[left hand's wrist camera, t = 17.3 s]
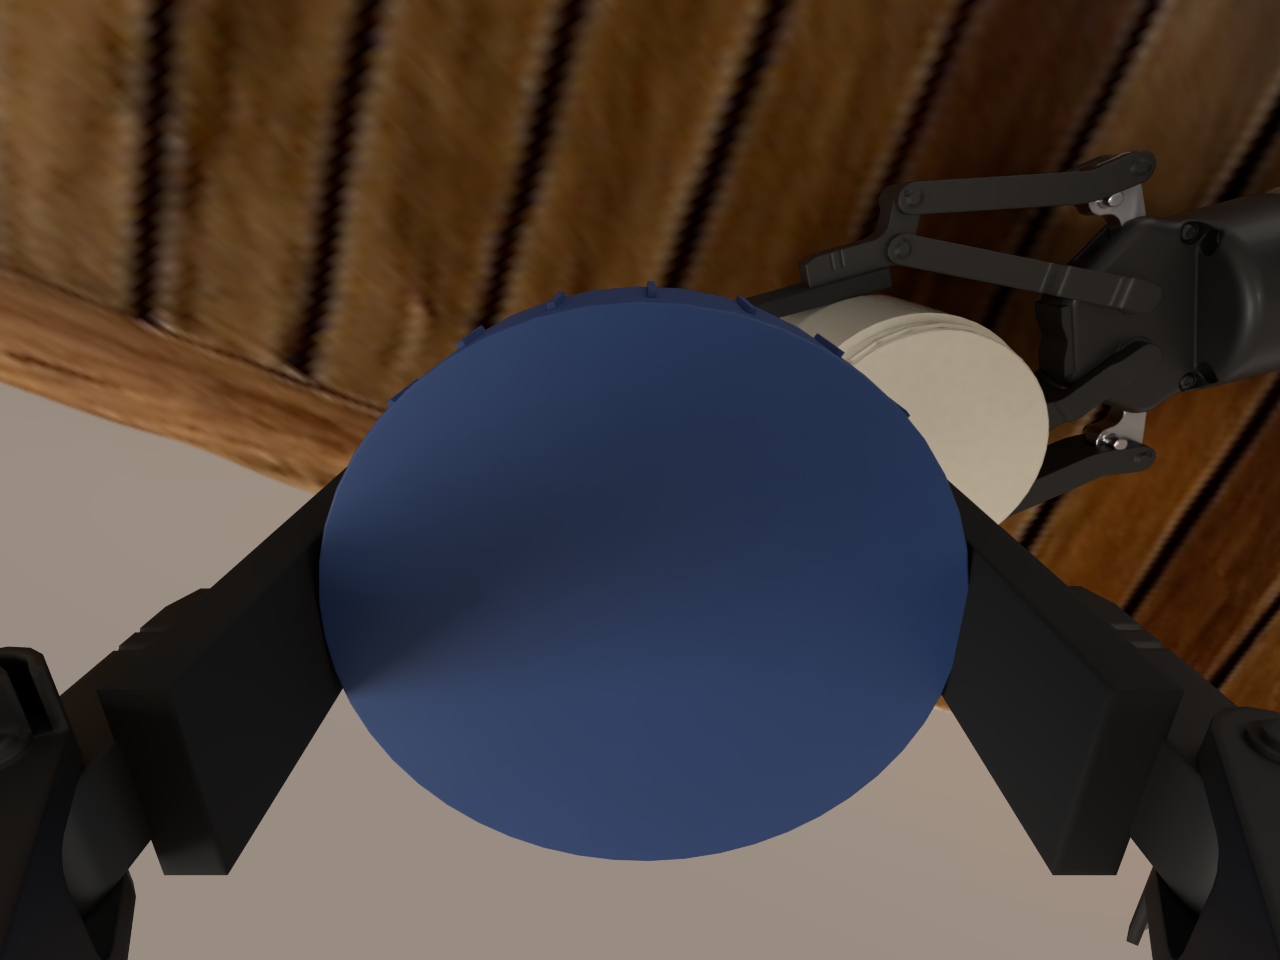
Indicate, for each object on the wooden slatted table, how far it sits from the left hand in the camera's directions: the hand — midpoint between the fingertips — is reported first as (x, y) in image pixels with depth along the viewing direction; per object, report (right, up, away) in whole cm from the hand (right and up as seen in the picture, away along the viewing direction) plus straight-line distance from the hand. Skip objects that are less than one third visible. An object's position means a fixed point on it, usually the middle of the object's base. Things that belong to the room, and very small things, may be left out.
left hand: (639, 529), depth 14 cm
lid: (0, -1, -3) cm, 3 cm away
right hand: (+5, +4, +17) cm, 19 cm away
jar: (+10, +7, +23) cm, 26 cm away
